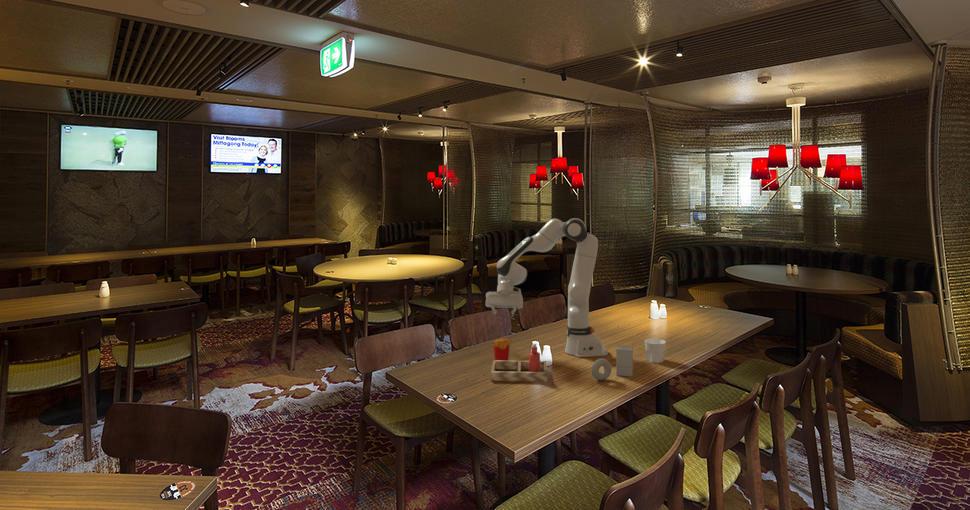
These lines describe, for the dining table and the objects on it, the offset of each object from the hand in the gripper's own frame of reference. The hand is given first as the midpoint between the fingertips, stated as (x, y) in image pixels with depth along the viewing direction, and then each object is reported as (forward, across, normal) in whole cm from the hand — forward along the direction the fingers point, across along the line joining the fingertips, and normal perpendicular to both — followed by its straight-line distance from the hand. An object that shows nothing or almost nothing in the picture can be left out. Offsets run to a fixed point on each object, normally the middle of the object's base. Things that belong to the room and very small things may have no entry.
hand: (503, 313), depth 249 cm
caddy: (+36, +9, -6) cm, 38 cm away
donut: (+39, +46, -10) cm, 61 cm away
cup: (+18, +77, +10) cm, 80 cm away
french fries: (+25, 0, +7) cm, 26 cm away
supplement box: (+33, +58, -4) cm, 67 cm away
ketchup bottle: (+38, +16, -7) cm, 42 cm away
